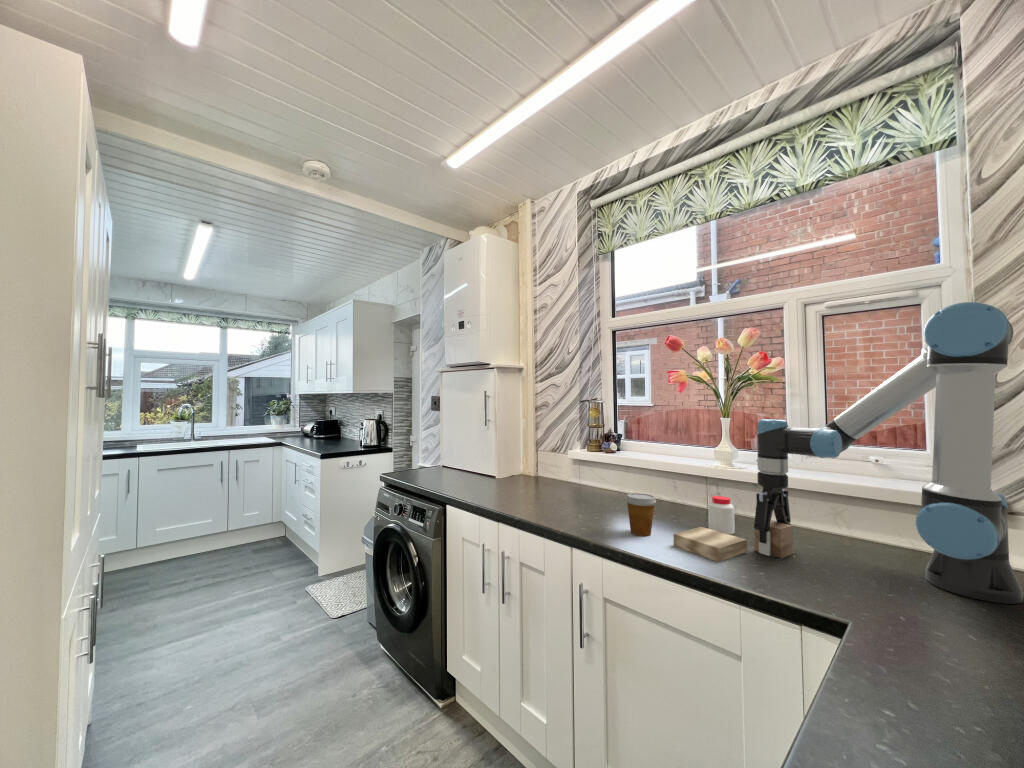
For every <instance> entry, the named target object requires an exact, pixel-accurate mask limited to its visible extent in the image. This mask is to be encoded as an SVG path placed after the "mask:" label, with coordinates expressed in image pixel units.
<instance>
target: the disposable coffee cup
mask: <svg viewBox="0 0 1024 768" xmlns="http://www.w3.org/2000/svg"><path fill="white" fill-rule="evenodd" d="M625 500H626V503H627V511H628V519H629V528H630V533H631V534H632V535H634V536H639V537H649V536H651V535H652V528H653V520H654V515H655V513H654V512H655V505H656V503H657V500H656V498H655V496H654V495H652V494H647V493H641V492H640V493H639V492H633V493H628V494H627V495H626V498H625Z"/></svg>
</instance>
